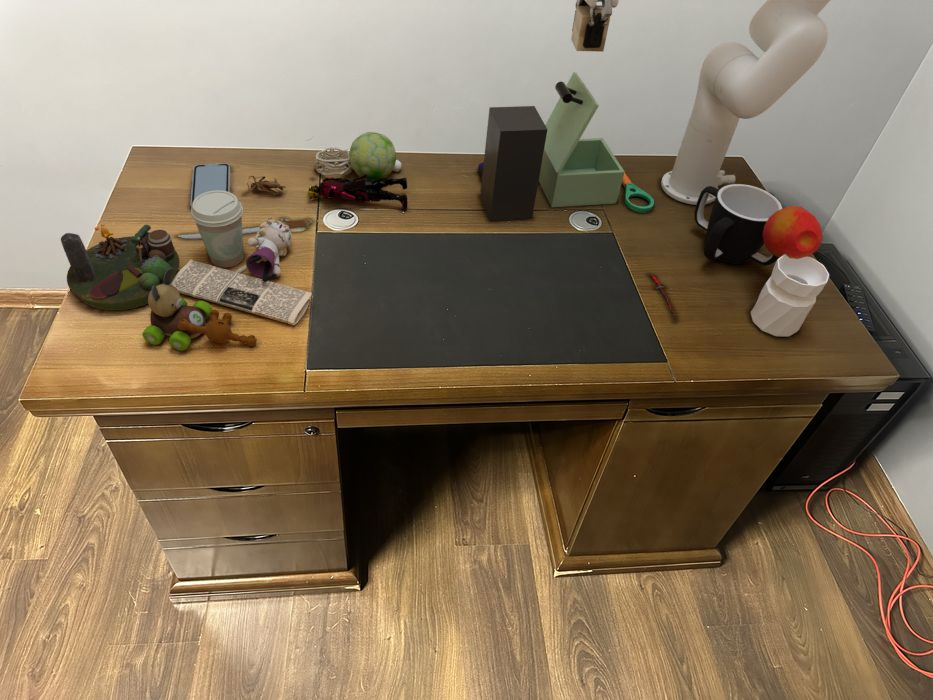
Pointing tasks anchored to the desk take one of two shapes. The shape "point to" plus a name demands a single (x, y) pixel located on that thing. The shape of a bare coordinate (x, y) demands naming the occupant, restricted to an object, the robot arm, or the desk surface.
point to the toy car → (173, 315)
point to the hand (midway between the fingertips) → (586, 39)
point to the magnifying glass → (636, 192)
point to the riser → (512, 162)
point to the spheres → (397, 166)
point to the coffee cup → (220, 226)
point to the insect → (265, 185)
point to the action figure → (359, 189)
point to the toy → (268, 249)
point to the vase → (789, 295)
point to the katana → (663, 293)
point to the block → (580, 28)
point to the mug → (736, 223)
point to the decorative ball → (372, 156)
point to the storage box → (583, 176)
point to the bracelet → (328, 166)
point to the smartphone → (210, 179)
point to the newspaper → (242, 292)
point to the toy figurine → (218, 329)
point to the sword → (293, 226)
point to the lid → (568, 120)
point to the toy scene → (119, 267)
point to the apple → (792, 233)
